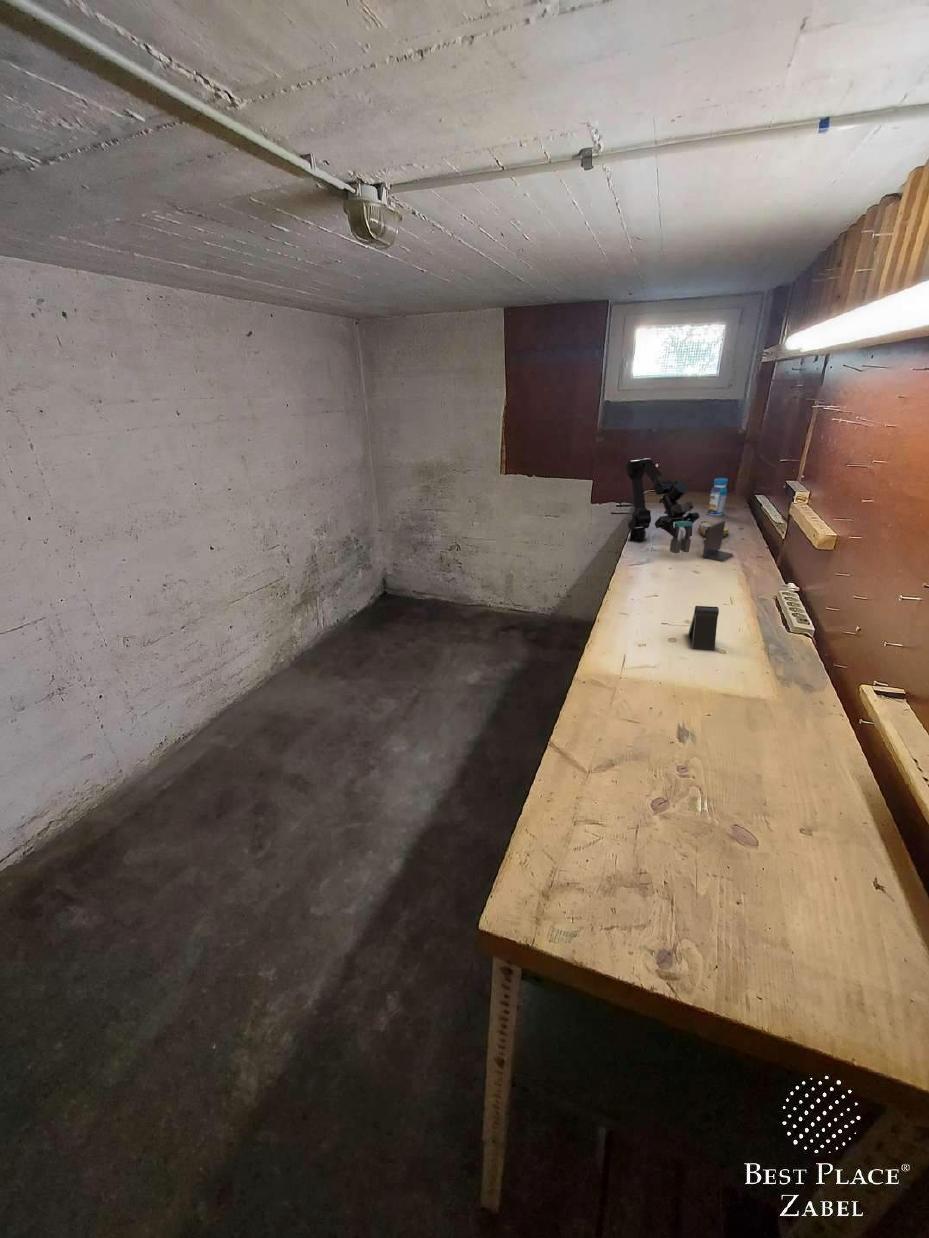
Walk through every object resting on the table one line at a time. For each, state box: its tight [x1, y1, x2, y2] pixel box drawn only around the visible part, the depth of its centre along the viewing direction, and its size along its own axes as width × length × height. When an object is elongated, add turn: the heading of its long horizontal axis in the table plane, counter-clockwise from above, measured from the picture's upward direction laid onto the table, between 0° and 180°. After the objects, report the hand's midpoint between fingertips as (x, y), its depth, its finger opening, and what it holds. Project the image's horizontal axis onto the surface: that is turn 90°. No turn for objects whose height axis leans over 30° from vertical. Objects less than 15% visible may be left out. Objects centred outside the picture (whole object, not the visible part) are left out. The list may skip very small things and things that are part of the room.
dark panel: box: [702, 520, 734, 562], centre depth 214 cm, size 13×14×14 cm
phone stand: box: [687, 605, 720, 651], centre depth 145 cm, size 9×6×12 cm, turn 165°
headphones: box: [669, 521, 694, 554], centre depth 210 cm, size 4×7×13 cm, turn 104°
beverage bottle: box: [707, 477, 729, 517], centre depth 276 cm, size 8×8×20 cm
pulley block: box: [697, 520, 730, 543], centre depth 241 cm, size 14×6×30 cm
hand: (683, 537), depth 209 cm, fingers closed on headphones, 7 cm apart
